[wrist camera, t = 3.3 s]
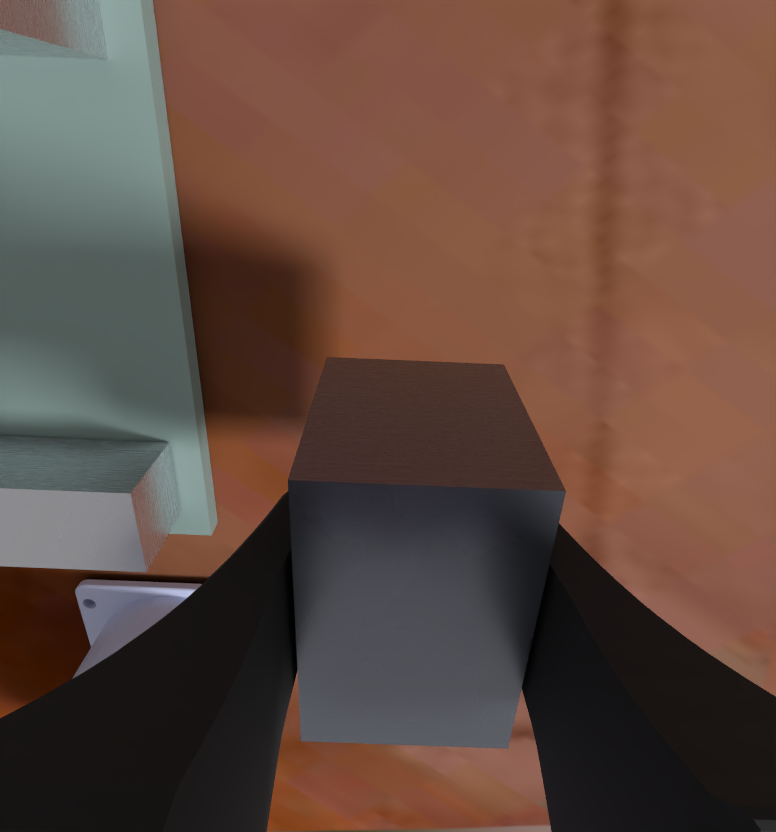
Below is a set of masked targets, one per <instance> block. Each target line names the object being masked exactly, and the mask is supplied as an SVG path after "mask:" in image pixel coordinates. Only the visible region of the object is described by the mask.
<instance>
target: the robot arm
mask: <svg viewBox="0 0 776 832" xmlns="http://www.w3.org/2000/svg"><path fill="white" fill-rule="evenodd" d="M75 594H76V598H77V601H78V604H79V608H80V611H81V615H82V618H83V622H84V625H85V628H86V632H87V635H88V639H89V642H90V645H91V648H90V650H89V652H88V653H87V655H86V657H85V658H84V660H83V662H82V663H81V665H80V667H79V668H78V670H77V671H76V673H75V675H74V676H73V678H72V679H71V680H70V681H68V682H66V683H65V684H63V685H61V686H60V687H58V688H56V689H54V690H53V691H51V692H49V693H47V694H46V695H44V696H42V697H40V698H38V699H37V700H35V701H33V702H31V703H29V704H27V705H25V706H23V707H21V708H19V709H17V710H16V711H14V712H12V713H10V714H8V715H6V716H4V717H2V718H0V832H267V825H268V818H269V812H270V805H271V799H272V792H273V786H274V780H275V773H276V767H277V761H278V755H279V748H280V742H281V736H282V731H283V727H284V722H285V717H286V713H287V709H288V705H289V701H290V697H291V693H292V689H293V685H294V681H295V677H296V673H297V670H298V669H297V649H296V629H295V610H294V590H293V570H292V551H291V531H290V511H289V492H287V493H285V494H284V495H283V496H282V497H281V499H280V500H279V501H278V502H277V504H276V505H275V506H274V508H273V509H272V510H271V511H270V513H269V514H268V515H267V516H266V517H265V519H264V520H263V521H262V522H261V523H260V524H259V526H258V527H257V528H256V529H255V530H254V531H253V533H252V534H251V535H250V536H249V537H248V538H247V539H246V540H245V541H244V542H243V544H242V545H241V546H240V547H239V548H238V549H237V550H236V551H235V552H234V553H233V554H232V555H231V557H230V558H229V559H228V560H227V561H226V562H224V563H223V564H222V565H221V566H220V567H219V568H218V569H217V570H216V571H215V572H214V573H213V574H212V575H211V576H210V577H209V578H208V579H207V580H206V581H205V582H204V583H203V584H192V583H167V582H143V581H118V580H93V579H87V580H83V581H81V582H80V583H79V585H78V586H77V588H76V589H75ZM92 600H93V601H92ZM522 690H523V694H524V698H525V701H526V705H527V708H528V712H529V716H530V719H531V723H532V727H533V732H534V736H535V740H536V744H537V749H538V755H539V761H540V766H541V772H542V778H543V783H544V789H545V795H546V800H547V807H548V813H549V819H550V825H551V831H552V832H776V697H775V696H774V695H772V694H770V693H769V692H767V691H766V690H764V689H762V688H761V687H759V686H757V685H756V684H754V683H753V682H751V681H749V680H748V679H746V678H745V677H743V676H742V675H740V674H739V673H737V672H736V671H734V670H733V669H731V668H729V667H728V666H726V665H725V664H723V663H722V662H720V661H719V660H717V659H716V658H714V657H713V656H711V655H710V654H708V653H707V652H706V651H704V650H703V649H701V648H700V647H698V646H697V645H696V644H694V643H693V642H691V641H690V640H689V639H687V638H686V637H685V636H683V635H682V634H681V633H679V632H678V631H677V630H676V629H674V628H673V627H672V626H670V625H669V624H668V623H666V622H665V621H664V620H662V619H661V618H660V617H659V616H657V615H656V614H655V613H654V612H652V611H651V610H650V609H649V608H647V607H646V606H645V605H644V604H643V603H641V602H640V601H639V600H638V599H637V598H636V597H635V596H633V595H632V594H631V593H630V592H629V591H628V590H627V589H625V588H624V587H623V586H622V585H621V584H620V583H619V582H617V581H616V580H615V579H614V578H613V577H612V576H611V575H610V574H609V573H608V572H607V571H606V570H605V569H603V568H602V567H601V566H600V565H599V564H598V563H597V562H596V561H595V560H594V559H593V558H592V557H591V556H590V555H589V554H588V553H587V552H586V551H585V550H584V549H583V548H582V547H581V546H580V545H579V544H578V543H577V542H576V541H575V540H574V539H573V538H572V537H571V536H570V534H569V533H568V532H567V531H566V530H565V529H564V528H563V527H562V526H561V525H560V524H558V528H557V533H556V537H555V542H554V546H553V550H552V555H551V559H550V564H549V568H548V573H547V577H546V582H545V586H544V590H543V595H542V599H541V604H540V608H539V613H538V617H537V621H536V626H535V630H534V635H533V639H532V644H531V648H530V652H529V657H528V661H527V666H526V670H525V675H524V679H523V683H522Z"/></svg>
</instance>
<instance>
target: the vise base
mask: <svg viewBox="0 0 776 832" xmlns="http://www.w3.org/2000/svg"><path fill="white" fill-rule="evenodd" d="M0 436H19V437H43V438H67V439H90V440H114V441H138V442H162V443H169V447H170V453H171V459H172V465H173V472H174V478H175V484H176V490H177V496H178V502H179V509H180V516H179V518H178V519H177V521H176V523H175V524H174V526H173V528H172V530H171V531H170V533H169V534H192V535H212V533H213V531H214V529H215V527H216V525H217V523H218V520H217V512H216V504H215V496H214V488H213V480H212V472H211V464H210V456H209V448H208V440H207V432H206V424H205V416H204V408H203V400H202V392H201V384H200V376H199V368H198V360H197V352H196V344H195V336H194V328H193V319H192V311H191V303H190V295H189V287H188V279H187V271H186V263H185V255H184V247H183V239H182V231H181V223H180V215H179V207H178V199H177V191H176V183H175V175H174V167H173V159H172V151H171V143H170V135H169V127H168V119H167V111H166V103H165V95H164V87H163V79H162V71H161V63H160V55H159V47H158V39H157V31H156V23H155V15H154V7H153V0H0Z"/></svg>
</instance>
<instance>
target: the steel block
mask: <svg viewBox="0 0 776 832" xmlns="http://www.w3.org/2000/svg"><path fill="white" fill-rule="evenodd" d="M288 492H289V511H290V531H291V551H292V570H293V590H294V610H295V629H296V649H297V669H298V689H299V708H300V728H301V741H314V742H342V743H369V744H397V745H424V746H452V747H479V748H506V749H508V746H509V741H510V737H511V732H512V728H513V723H514V719H515V715H516V710H517V706H518V701H519V697H520V692H521V688H522V683H523V679H524V675H525V670H526V666H527V661H528V657H529V652H530V648H531V644H532V639H533V635H534V630H535V626H536V621H537V617H538V613H539V608H540V604H541V599H542V595H543V590H544V586H545V582H546V577H547V573H548V568H549V564H550V559H551V555H552V550H553V546H554V542H555V537H556V533H557V528H558V524H559V519H560V515H561V511H562V506H563V502H564V497H565V493H566V491H565V489H564V486H563V484H562V482H561V480H560V478H559V476H558V474H557V472H556V470H555V468H554V466H553V464H552V462H551V460H550V458H549V456H548V454H547V452H546V450H545V448H544V446H543V444H542V442H541V440H540V438H539V435H538V433H537V431H536V429H535V427H534V425H533V423H532V421H531V419H530V417H529V415H528V413H527V411H526V409H525V407H524V405H523V403H522V401H521V399H520V397H519V395H518V393H517V391H516V389H515V387H514V385H513V382H512V380H511V378H510V376H509V374H508V372H507V370H506V368H505V366H504V365H501V364H477V363H453V362H429V361H405V360H381V359H357V358H333V357H327V359H326V362H325V365H324V368H323V371H322V374H321V378H320V381H319V384H318V387H317V390H316V393H315V396H314V400H313V403H312V406H311V409H310V412H309V415H308V418H307V422H306V425H305V428H304V431H303V434H302V437H301V441H300V444H299V447H298V450H297V453H296V456H295V459H294V463H293V466H292V469H291V472H290V475H289V478H288Z"/></svg>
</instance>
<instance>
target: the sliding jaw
mask: <svg viewBox="0 0 776 832" xmlns="http://www.w3.org/2000/svg"><path fill="white" fill-rule="evenodd" d="M179 516H180V509H179V502H178V496H177V490H176V484H175V478H174V472H173V465H172V459H171V453H170V447H169V443H162V442H138V441H114V440H90V439H67V438H43V437H19V436H0V566H8V567H32V568H57V569H81V570H106V571H130V572H147V571H148V569H149V567H150V566H151V564H152V562H153V560H154V559H155V557H156V555H157V554H158V552H159V550H160V548H161V547H162V545H163V543H164V542H165V540H166V538H167V536H168V535H169V533H170V531H171V530H172V528H173V526H174V524H175V523H176V521H177V519H178V518H179Z"/></svg>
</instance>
